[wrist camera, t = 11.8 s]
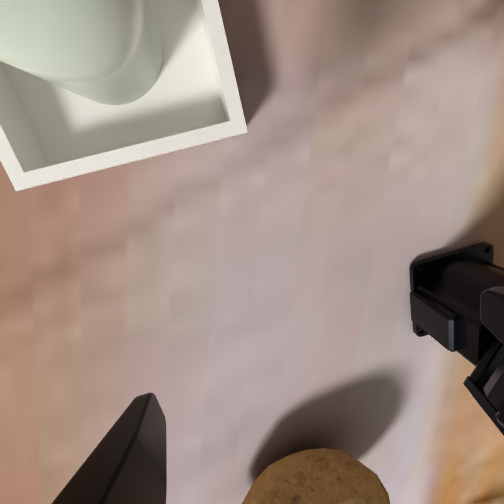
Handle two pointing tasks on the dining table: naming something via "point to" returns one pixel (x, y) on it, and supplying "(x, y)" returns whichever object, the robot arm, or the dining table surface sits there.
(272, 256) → the dining table surface
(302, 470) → the potato
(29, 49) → the pebble cup
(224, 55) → the stoneware dish
